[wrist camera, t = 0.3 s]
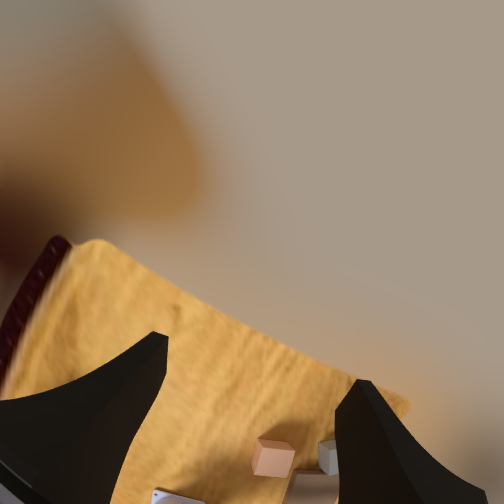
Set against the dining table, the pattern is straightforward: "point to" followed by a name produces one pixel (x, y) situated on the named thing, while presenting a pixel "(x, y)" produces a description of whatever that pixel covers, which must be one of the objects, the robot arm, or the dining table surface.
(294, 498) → the walnut slab
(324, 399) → the dining table surface
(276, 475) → the terracotta cube
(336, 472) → the grey cube
